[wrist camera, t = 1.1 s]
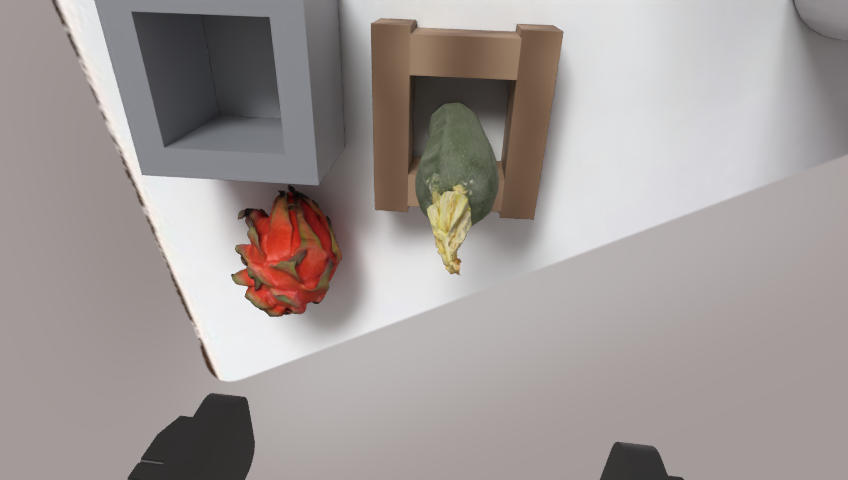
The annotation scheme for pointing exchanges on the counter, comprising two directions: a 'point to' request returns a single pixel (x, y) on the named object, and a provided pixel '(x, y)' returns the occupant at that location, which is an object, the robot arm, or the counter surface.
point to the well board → (467, 58)
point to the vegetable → (455, 178)
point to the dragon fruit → (287, 255)
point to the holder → (196, 100)
